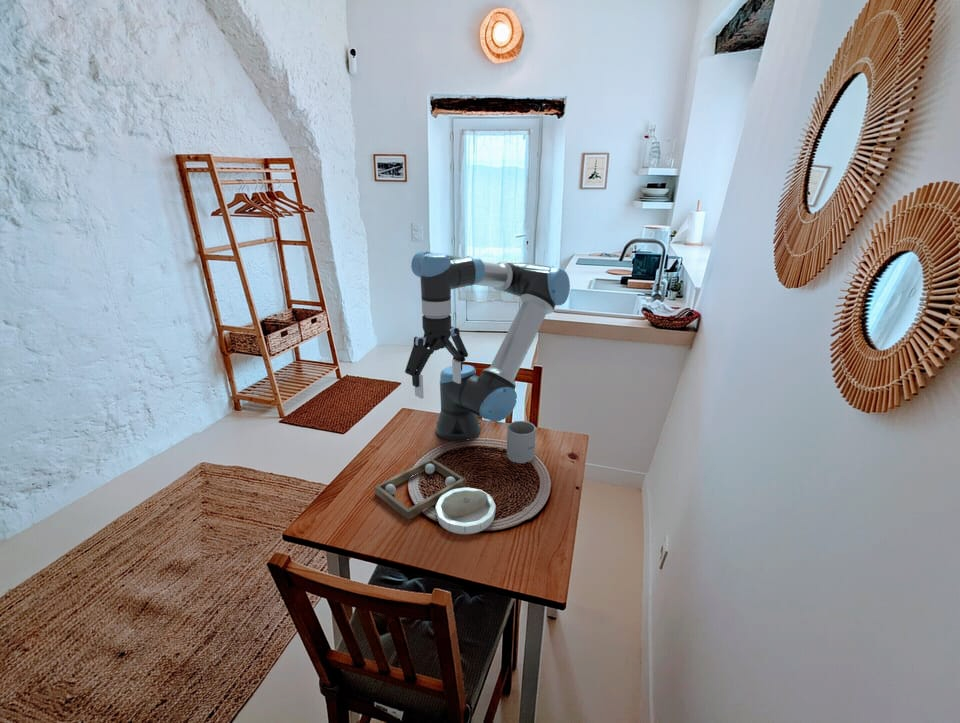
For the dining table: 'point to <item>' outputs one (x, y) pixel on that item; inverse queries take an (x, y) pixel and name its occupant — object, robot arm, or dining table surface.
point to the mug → (521, 441)
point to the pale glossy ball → (429, 468)
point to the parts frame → (424, 504)
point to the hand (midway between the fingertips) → (438, 389)
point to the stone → (464, 503)
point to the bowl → (468, 522)
